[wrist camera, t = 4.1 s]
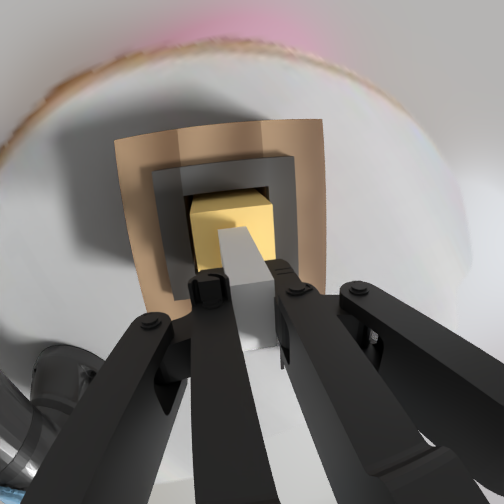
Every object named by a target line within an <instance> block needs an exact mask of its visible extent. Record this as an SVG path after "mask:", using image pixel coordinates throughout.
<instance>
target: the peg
mask: <svg viewBox="0 0 504 504" xmlns="http://www.w3.org/2000/svg"><path fill="white" fill-rule="evenodd" d="M190 220H191V227H192V234H193V240H194V247H195V254H196V260H197V266H198V272H199V271H200V270H205V269H213V268H220V267H222V262H221V254H220V246H219V238H218V229H226V228H234V227H243V226H246V227H247V229H248V231H249V233H250V235H251V237H252V238H253V240H254V242H255V244H256V246H257V248H258V250H259V252H260V254H261V255H262V257H263V259H264V261H266V260H273V259H276V255H275V238H274V221H273V205H272V203H271V202H269V201H268V200H267V199H266V198H265V197H264V196H263V195H261V194H260V193H259V192H258V191H257V190H256V189H255V188H244V189H235V190H226V191H217V192H209V193H201V194H194V196H193V201H192V206H191V210H190Z"/></svg>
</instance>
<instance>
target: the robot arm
mask: <svg viewBox="0 0 504 504" xmlns="http://www.w3.org/2000/svg"><path fill="white" fill-rule="evenodd" d="M218 238H219V246H220V254H221V262H222V267H220V268H213V269H205V270H200V271H199V273H198V274H197V275H196V276H194V277H193V278H191V279H190V280H189V281H188V283H187V284H188V289H189V295H190V300H191V305H192V311H191V312H190V313H189V314H187V315H185V316H183V317H181V318H178V319H175V320H172V321H171V318H170V317H169V315H167V314H166V313H163V312H148V313H145V314H143V315H141V316H139V317H137V318H136V319H135V320H134V321H133V322H132V323H131V325H130V326H129V327H128V329H127V330H126V332H125V333H124V335H123V336H122V337H121V339H120V340H119V342H118V343H117V345H116V346H115V347H114V349H113V350H112V352H111V353H110V355H109V356H108V358H107V359H106V361H103V360H102V359H100V358H99V357H97V356H95V355H94V354H92V353H90V352H87V351H85V350H82V349H80V348H76V347H72V346H65V345H58V346H52V347H49V348H47V349H45V350H44V351H43V352H42V353H41V354H40V356H39V358H38V359H37V361H36V363H35V365H34V368H33V373H32V378H33V379H32V384H31V393H30V401H29V400H28V399H27V398H26V397H25V396H24V395H23V394H22V393H21V392H20V391H19V389H18V388H17V387H16V386H15V385H14V384H13V383H12V382H11V381H10V380H9V379H8V377H7V376H6V375H5V374H4V373H3V372H2V371H1V369H0V500H1V501H2V502H3V503H5V504H147V503H148V500H149V497H150V494H151V491H152V488H153V485H154V482H155V479H156V475H157V472H158V469H159V466H160V463H161V460H162V457H163V454H164V451H165V448H166V445H167V442H168V439H169V436H170V433H171V430H172V427H173V424H174V421H175V418H176V415H177V412H178V409H179V407H180V404H181V401H182V398H183V395H184V392H185V389H186V386H187V380H188V379H187V378H189V377H191V427H192V453H193V472H194V488H195V501H196V504H281V503H280V501H279V498H278V495H277V491H276V487H275V484H274V480H273V476H272V472H271V468H270V465H269V461H268V457H267V452H266V449H265V445H264V440H263V436H262V432H261V428H260V424H259V420H258V416H257V412H256V407H255V403H254V399H253V395H252V390H251V386H250V382H249V377H248V373H247V368H246V364H245V360H244V355H243V351H249V350H255V349H261V348H267V347H273V346H277V336H278V339H279V341H280V359H281V369H284V365H285V368H286V370H287V373H288V376H289V378H290V381H291V384H292V386H293V389H294V392H295V394H296V397H297V399H298V402H299V405H300V407H301V410H302V413H303V415H304V418H305V420H306V423H307V426H308V428H309V431H310V434H311V436H312V439H313V441H314V444H315V447H316V449H317V452H318V454H319V457H320V459H321V462H322V465H323V467H324V470H325V472H326V475H327V478H328V480H329V482H330V485H331V488H332V491H333V493H334V496H335V498H336V501H337V503H338V504H490V503H489V502H488V500H487V499H486V497H485V496H484V494H483V493H482V491H481V489H480V488H479V486H478V485H477V483H476V482H475V481H474V479H475V480H476V481H477V482H479V483H480V484H481V485H483V486H484V487H485V488H487V489H489V490H490V491H492V492H494V493H496V494H498V495H501V496H503V497H504V364H503V363H502V362H500V361H499V360H497V359H495V358H494V357H492V356H491V355H489V354H487V353H486V352H484V351H483V350H481V349H480V348H478V347H476V346H475V345H473V344H472V343H470V342H468V341H467V340H465V339H463V338H462V337H460V336H459V335H457V334H455V333H454V332H452V331H450V330H449V329H447V328H445V327H444V326H442V325H441V324H439V323H437V322H436V321H434V320H432V319H431V318H429V317H427V316H425V315H424V314H422V313H420V312H419V311H417V310H415V309H414V308H412V307H410V306H409V305H407V304H405V303H403V302H402V301H400V300H398V299H397V298H395V297H393V296H391V295H390V294H388V293H386V292H385V291H383V290H381V289H379V288H378V287H376V286H374V285H372V284H370V283H367V282H362V281H352V282H348V283H345V284H343V285H342V286H341V288H340V295H322V294H320V293H319V291H318V290H317V289H316V287H314V286H313V285H312V284H309V283H306V282H302V281H301V280H300V278H299V277H298V276H297V274H296V273H295V271H294V270H293V268H292V267H291V266H290V264H289V263H288V262H287V261H285V260H283V259H281V258H280V259H273V260H266V261H264V259H263V257H262V255H261V254H260V252H259V250H258V248H257V246H256V244H255V242H254V240H253V238H252V237H251V235H250V233H249V231H248V229H247V227H246V226H243V227H234V228H226V229H218ZM372 330H373V331H374V332H376V333H377V334H378V340H377V342H376V341H374V340H373V339H372V338H371V336H372ZM418 430H419V431H420V432H421V433H422V434H423V435H424V436H425V437H426V438H428V439H429V440H430V441H431V442H432V443H433V444H434V445H436V447H432V446H430V445H429V444H428V443H427V442H426V441H425V440H424V438H423V437H422V435H421V434H420V433H419V431H418Z"/></svg>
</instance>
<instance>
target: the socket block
mask: <svg viewBox="0 0 504 504" xmlns="http://www.w3.org/2000/svg"><path fill="white" fill-rule="evenodd" d="M114 145H115V154H116V162H117V169H118V177H119V184H120V190H121V196H122V202H123V208H124V214H125V219H126V225H127V230H128V235H129V240H130V244H131V249H132V254H133V258H134V263H135V267H136V271H137V275H138V279H139V283H140V287H141V291H142V295H143V299H144V303H145V306H146V310H147V313H148V312H163V313H166V314H167V315H169V317H170V318H171V321H172V320H175V319H178V318H181V317H183V316H185V315H187V314H189V313H190V312H191V311H192V305H191V300H190V295H189V289H188V284H187V283H188V281H189V280H190V279H191V278H193V277H194V276H196V275H197V274H198V273H199V272H198V266H197V260H196V254H195V247H194V240H193V234H192V227H191V220H190V210H191V206H192V201H193V194H201V193H209V192H217V191H226V190H235V189H244V188H255V189H256V190H257V191H258V192H259V193H260V194H261V195H263V196H264V197H265V198H266V199H267V200H268V201H269V202H271V203H272V205H273V221H274V238H275V255H276V259H280V258H281V259H283V260H285V261H287V262H288V263H289V264H290V266H291V267H292V268H293V270H294V271H295V273H296V274H297V276H298V277H299V278H300V280H301V281H302V282H306V283H309V284H312V285H313V286H314V287H316V289H317V290H318V291H319V293H320V294H322V295H325V284H326V182H325V157H324V138H323V123H322V119H285V120H262V121H246V122H233V123H222V124H212V125H203V126H195V127H187V128H180V129H173V130H167V131H160V132H154V133H149V134H143V135H138V136H132V137H127V138H123V139H118V140H114Z"/></svg>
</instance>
